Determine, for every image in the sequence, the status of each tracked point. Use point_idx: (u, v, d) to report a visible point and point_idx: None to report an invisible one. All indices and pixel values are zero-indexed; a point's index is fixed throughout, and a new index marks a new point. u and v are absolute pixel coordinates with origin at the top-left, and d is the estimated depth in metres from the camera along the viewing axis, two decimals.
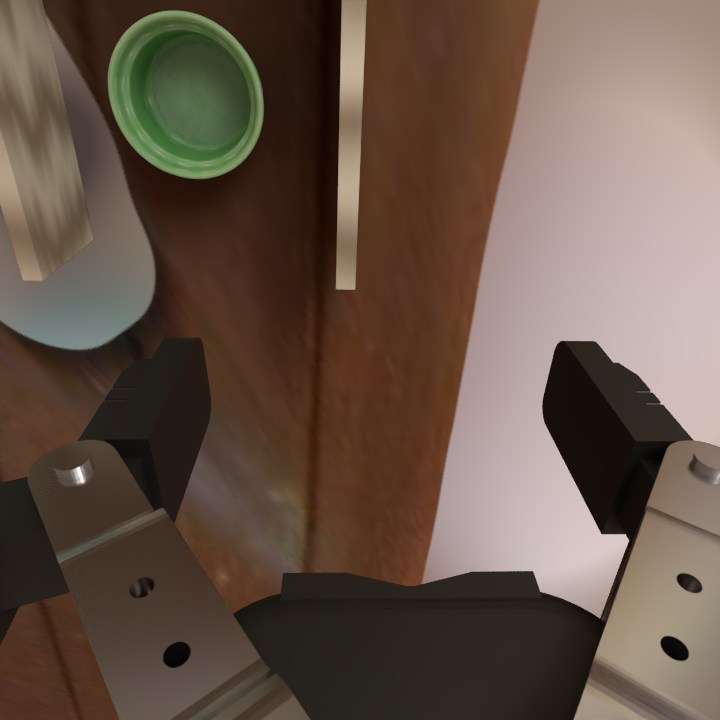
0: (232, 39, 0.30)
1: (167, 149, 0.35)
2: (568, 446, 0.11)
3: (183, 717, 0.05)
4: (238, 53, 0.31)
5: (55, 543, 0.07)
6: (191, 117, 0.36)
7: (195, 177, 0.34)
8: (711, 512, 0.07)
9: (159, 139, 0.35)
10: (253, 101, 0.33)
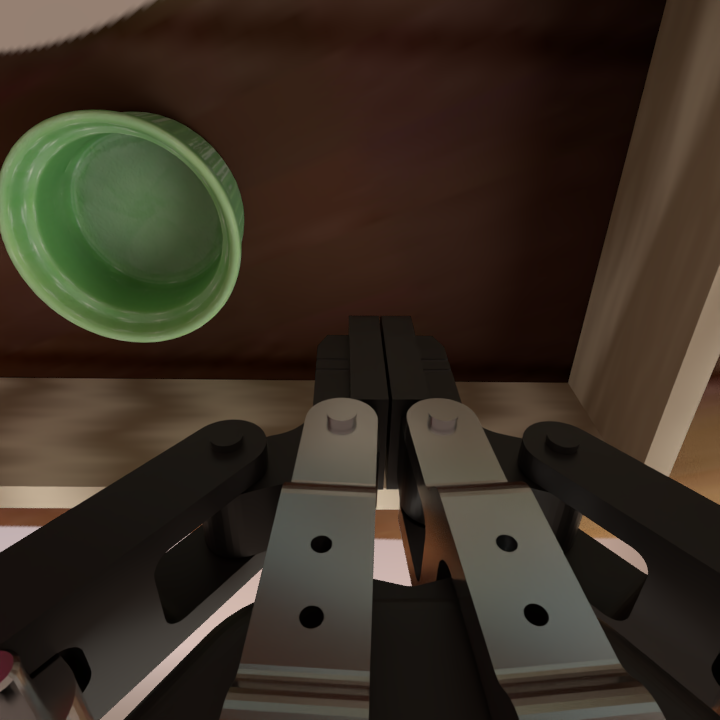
0: (215, 311, 0.22)
1: (43, 178, 0.21)
2: None
3: (284, 672, 0.05)
4: (200, 314, 0.22)
5: (296, 472, 0.08)
6: (116, 194, 0.23)
7: (4, 239, 0.20)
8: (468, 461, 0.08)
9: (60, 159, 0.21)
10: (146, 320, 0.23)
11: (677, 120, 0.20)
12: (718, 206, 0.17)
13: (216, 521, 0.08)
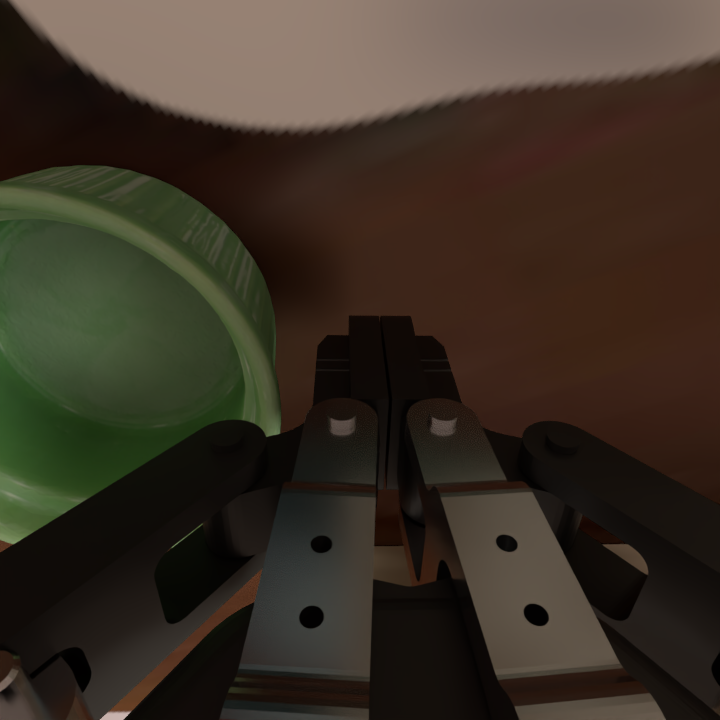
0: None
1: None
2: None
3: (284, 671, 0.05)
4: None
5: (296, 472, 0.08)
6: (60, 300, 0.14)
7: None
8: (468, 460, 0.08)
9: None
10: None
11: None
12: None
13: (216, 521, 0.08)
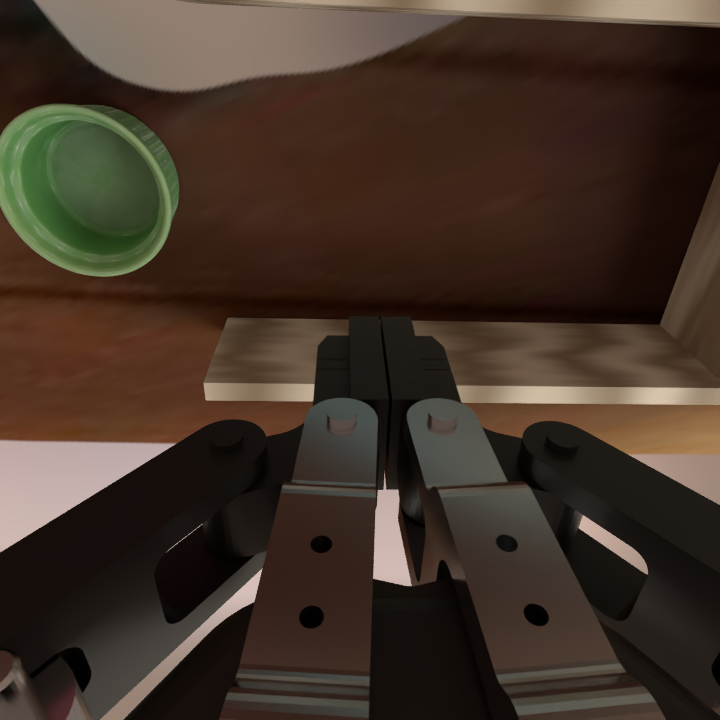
0: (155, 252, 0.30)
1: (26, 152, 0.29)
2: None
3: (284, 672, 0.05)
4: (144, 255, 0.30)
5: (296, 472, 0.08)
6: (81, 166, 0.31)
7: None
8: (468, 460, 0.08)
9: (38, 139, 0.29)
10: (104, 260, 0.31)
11: None
12: None
13: (216, 521, 0.08)
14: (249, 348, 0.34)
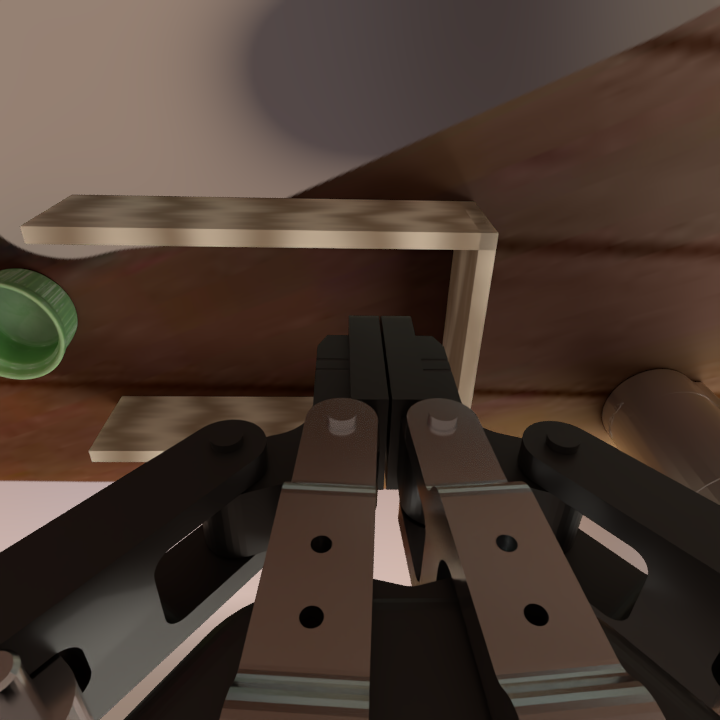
0: (56, 364, 0.46)
1: None
2: None
3: (284, 671, 0.05)
4: (49, 366, 0.46)
5: (296, 472, 0.08)
6: (9, 305, 0.47)
7: None
8: (468, 460, 0.08)
9: None
10: (25, 368, 0.47)
11: (457, 283, 0.44)
12: (463, 328, 0.42)
13: (216, 521, 0.08)
14: (128, 423, 0.49)
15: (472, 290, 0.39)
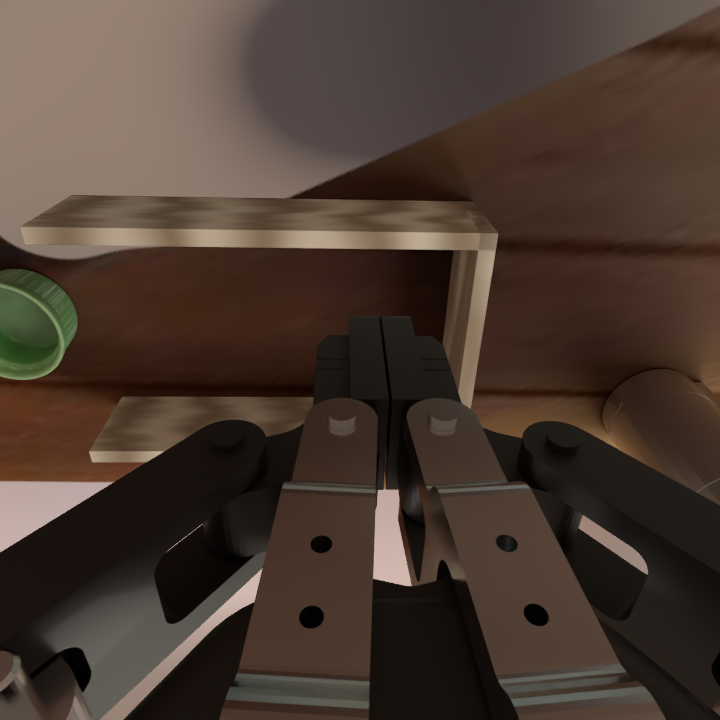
0: (55, 365, 0.46)
1: None
2: None
3: (284, 671, 0.05)
4: (49, 366, 0.46)
5: (296, 472, 0.08)
6: (9, 305, 0.47)
7: None
8: (468, 460, 0.08)
9: None
10: (24, 368, 0.47)
11: (457, 284, 0.44)
12: (463, 329, 0.42)
13: (216, 520, 0.08)
14: (128, 423, 0.49)
15: (472, 290, 0.39)
